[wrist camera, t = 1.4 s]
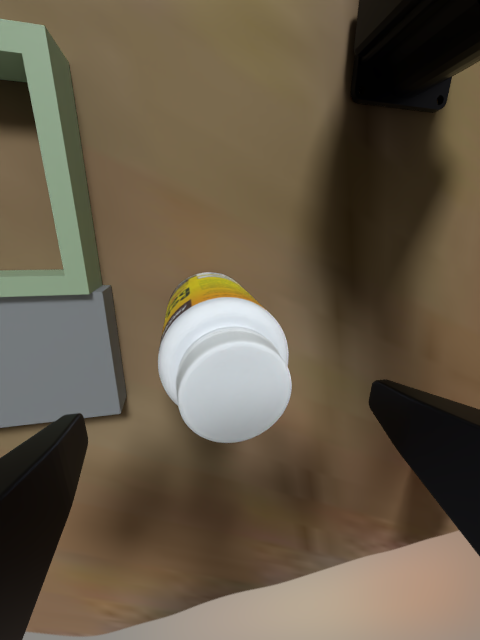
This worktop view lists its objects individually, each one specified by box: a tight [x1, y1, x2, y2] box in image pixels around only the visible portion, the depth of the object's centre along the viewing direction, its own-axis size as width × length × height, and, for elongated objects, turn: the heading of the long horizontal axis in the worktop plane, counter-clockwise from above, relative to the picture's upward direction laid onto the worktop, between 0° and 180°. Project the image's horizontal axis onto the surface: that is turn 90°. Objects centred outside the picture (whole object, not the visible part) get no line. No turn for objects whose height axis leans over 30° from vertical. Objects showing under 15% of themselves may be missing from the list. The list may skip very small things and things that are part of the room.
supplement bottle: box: [158, 272, 292, 443], centre depth 14 cm, size 6×6×10 cm
